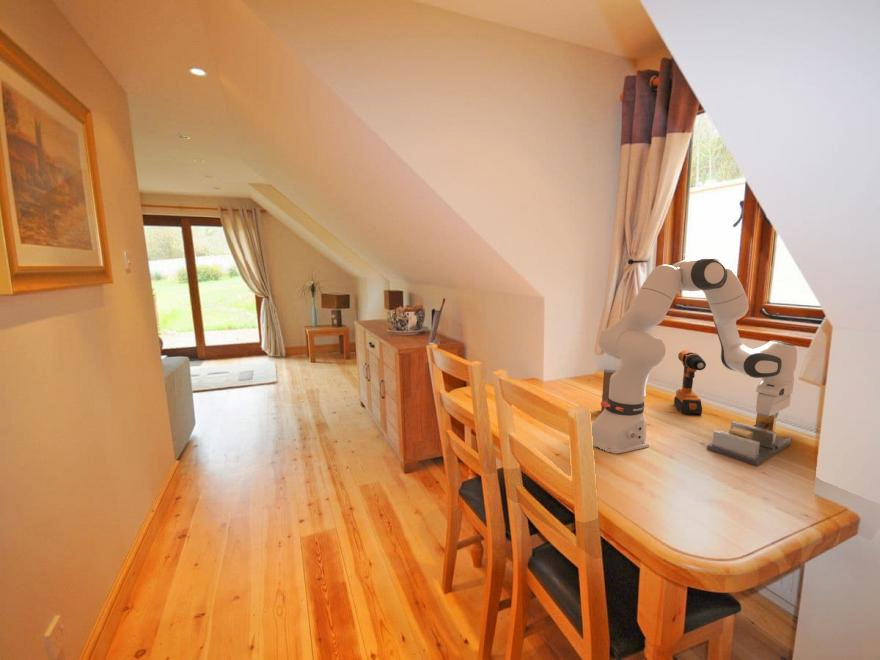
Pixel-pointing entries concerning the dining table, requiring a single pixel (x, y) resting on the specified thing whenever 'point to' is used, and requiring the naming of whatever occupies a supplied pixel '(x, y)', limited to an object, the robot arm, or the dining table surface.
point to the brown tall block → (606, 385)
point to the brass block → (741, 433)
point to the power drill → (689, 383)
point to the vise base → (761, 454)
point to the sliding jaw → (760, 430)
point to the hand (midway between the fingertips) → (771, 422)
